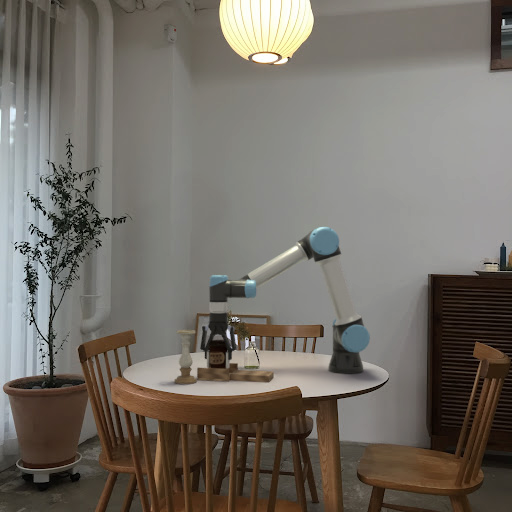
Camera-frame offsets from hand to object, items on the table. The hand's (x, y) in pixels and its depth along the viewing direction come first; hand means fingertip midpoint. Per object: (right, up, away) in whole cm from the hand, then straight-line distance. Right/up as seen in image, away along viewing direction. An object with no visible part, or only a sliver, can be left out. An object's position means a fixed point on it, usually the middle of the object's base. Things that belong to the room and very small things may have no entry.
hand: (218, 367), depth 239 cm
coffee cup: (0, -2, 0) cm, 2 cm away
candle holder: (-12, -4, -11) cm, 17 cm away
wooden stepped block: (+8, -4, -2) cm, 9 cm away
